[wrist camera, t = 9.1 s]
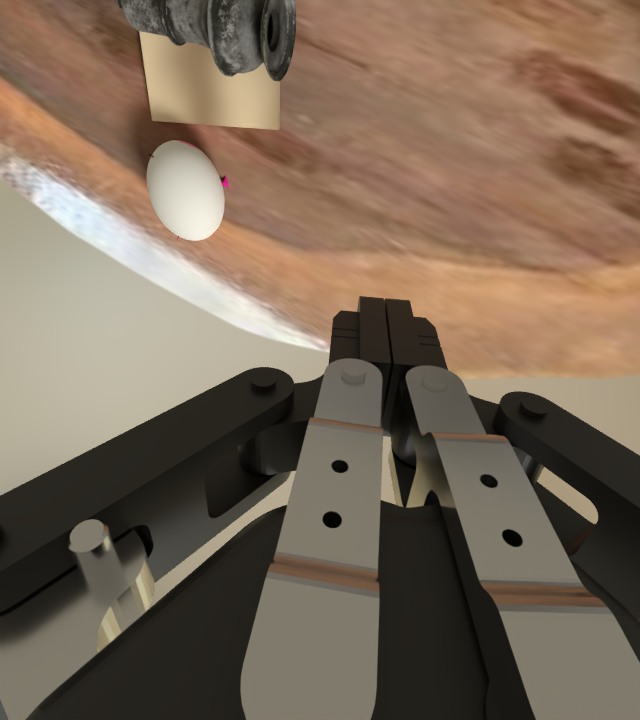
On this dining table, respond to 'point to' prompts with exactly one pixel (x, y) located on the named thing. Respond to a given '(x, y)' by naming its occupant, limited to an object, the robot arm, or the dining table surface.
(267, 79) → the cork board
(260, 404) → the robot arm
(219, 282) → the dining table surface
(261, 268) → the dining table surface
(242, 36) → the grey chess piece
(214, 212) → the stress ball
